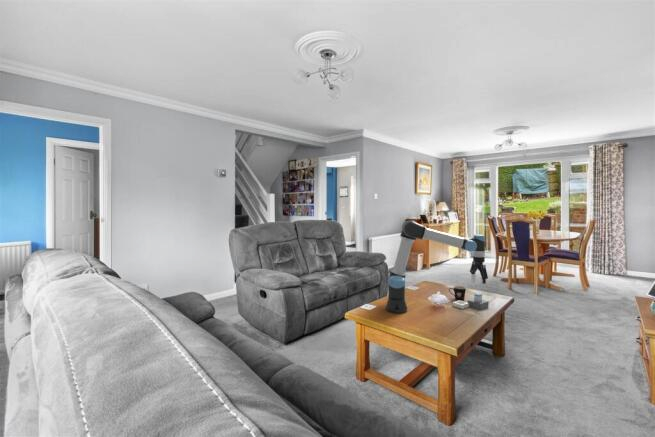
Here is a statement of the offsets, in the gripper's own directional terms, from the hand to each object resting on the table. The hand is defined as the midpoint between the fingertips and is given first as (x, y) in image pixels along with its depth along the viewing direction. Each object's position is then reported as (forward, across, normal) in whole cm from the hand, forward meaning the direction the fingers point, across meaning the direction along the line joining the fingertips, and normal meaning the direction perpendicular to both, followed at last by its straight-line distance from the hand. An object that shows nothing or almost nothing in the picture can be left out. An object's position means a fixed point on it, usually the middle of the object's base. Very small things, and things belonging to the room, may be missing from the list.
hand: (478, 285), depth 227 cm
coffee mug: (+17, +18, +6) cm, 25 cm away
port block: (+16, 0, 0) cm, 16 cm away
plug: (+16, 0, 0) cm, 16 cm away
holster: (+16, +1, +12) cm, 20 cm away
